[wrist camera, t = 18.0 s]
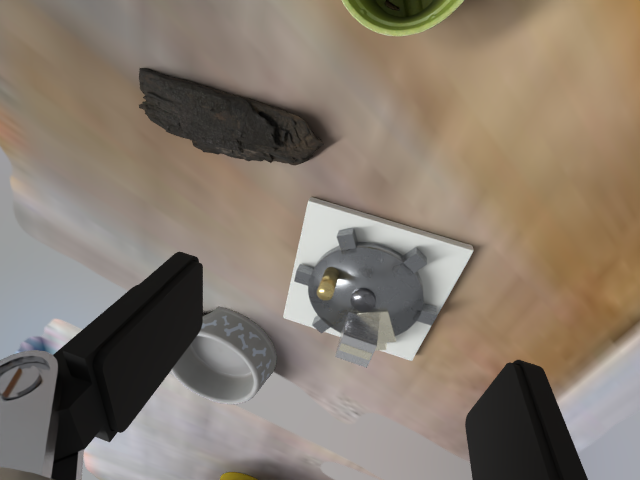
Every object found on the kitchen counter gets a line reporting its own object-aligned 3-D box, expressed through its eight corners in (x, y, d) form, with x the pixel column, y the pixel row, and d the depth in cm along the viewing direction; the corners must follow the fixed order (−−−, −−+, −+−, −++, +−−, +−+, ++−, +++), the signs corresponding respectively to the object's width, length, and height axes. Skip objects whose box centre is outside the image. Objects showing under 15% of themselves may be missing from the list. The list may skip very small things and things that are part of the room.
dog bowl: (159, 313, 56) (137, 337, 52) (249, 299, 50) (233, 324, 45) (207, 382, 63) (191, 408, 58) (292, 377, 56) (282, 406, 52)
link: (379, 321, 41) (376, 346, 38) (369, 343, 44) (366, 368, 40) (348, 311, 42) (343, 335, 38) (340, 333, 44) (335, 357, 40)
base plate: (471, 245, 37) (473, 250, 36) (411, 354, 47) (411, 360, 46) (311, 196, 39) (308, 200, 38) (285, 312, 49) (283, 317, 48)
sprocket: (360, 200, 36) (353, 222, 31) (470, 291, 38) (478, 324, 34) (275, 289, 45) (260, 316, 40) (368, 358, 47) (364, 392, 43)
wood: (143, 131, 40) (125, 137, 38) (138, 64, 36) (118, 65, 34) (317, 184, 38) (310, 194, 36) (332, 119, 34) (326, 125, 32)
